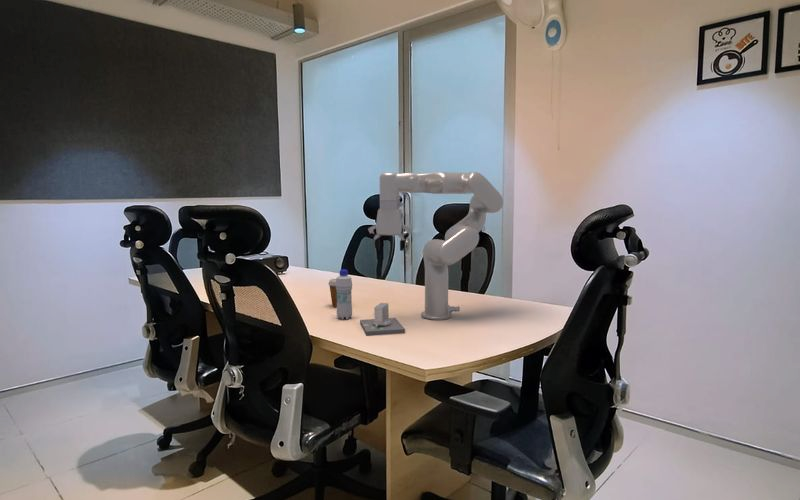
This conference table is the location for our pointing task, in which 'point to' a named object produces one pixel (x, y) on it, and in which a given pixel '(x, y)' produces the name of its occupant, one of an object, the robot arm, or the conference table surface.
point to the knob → (381, 315)
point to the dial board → (382, 327)
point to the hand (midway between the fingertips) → (390, 250)
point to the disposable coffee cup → (333, 292)
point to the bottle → (344, 295)
